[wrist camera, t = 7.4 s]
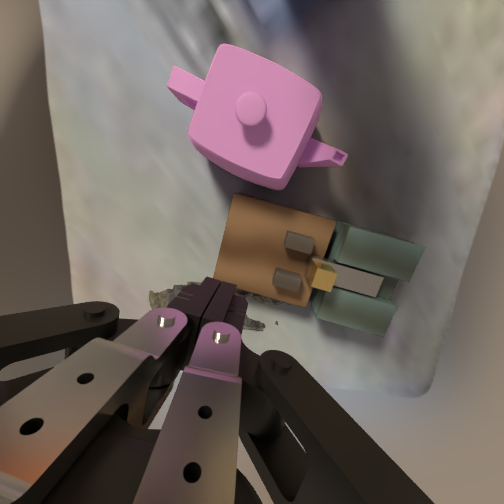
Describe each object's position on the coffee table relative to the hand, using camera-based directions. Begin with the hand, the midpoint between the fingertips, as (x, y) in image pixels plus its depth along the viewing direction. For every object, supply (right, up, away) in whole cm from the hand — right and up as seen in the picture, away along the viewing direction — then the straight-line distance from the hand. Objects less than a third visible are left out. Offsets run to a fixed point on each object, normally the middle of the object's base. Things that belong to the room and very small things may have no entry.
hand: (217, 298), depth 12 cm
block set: (+9, +2, +21) cm, 23 cm away
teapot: (+3, +16, +18) cm, 25 cm away
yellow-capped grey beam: (+12, 0, +17) cm, 21 cm away
